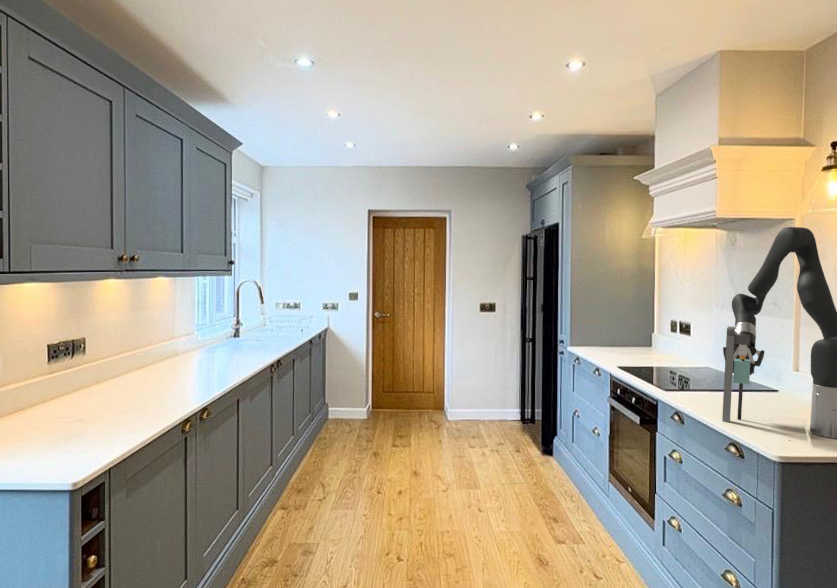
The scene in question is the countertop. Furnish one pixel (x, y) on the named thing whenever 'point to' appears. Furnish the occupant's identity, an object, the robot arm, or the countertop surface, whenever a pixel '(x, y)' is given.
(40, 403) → the countertop surface
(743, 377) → the sleeve
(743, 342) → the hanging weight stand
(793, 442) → the countertop surface
